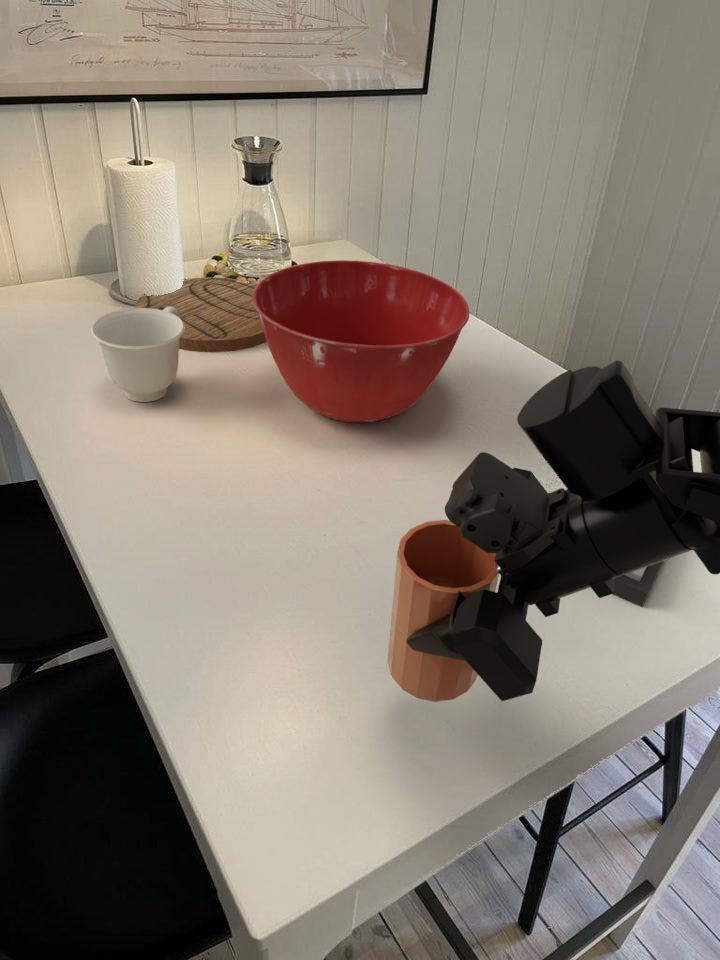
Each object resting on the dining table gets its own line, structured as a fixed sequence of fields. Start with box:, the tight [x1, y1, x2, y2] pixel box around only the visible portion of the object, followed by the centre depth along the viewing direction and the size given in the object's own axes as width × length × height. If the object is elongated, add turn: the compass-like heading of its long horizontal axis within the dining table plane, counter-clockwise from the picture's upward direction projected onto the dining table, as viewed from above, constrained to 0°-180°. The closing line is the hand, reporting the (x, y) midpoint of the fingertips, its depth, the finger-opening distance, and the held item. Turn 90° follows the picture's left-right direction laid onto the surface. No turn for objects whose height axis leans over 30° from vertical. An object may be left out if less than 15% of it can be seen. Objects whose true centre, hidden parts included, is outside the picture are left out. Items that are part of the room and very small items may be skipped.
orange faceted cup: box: [387, 519, 500, 703], centre depth 58 cm, size 7×7×13 cm
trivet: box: [134, 276, 267, 353], centre depth 126 cm, size 25×25×2 cm
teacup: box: [90, 307, 185, 403], centre depth 104 cm, size 12×15×10 cm
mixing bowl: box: [253, 259, 470, 424], centre depth 104 cm, size 28×28×15 cm
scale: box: [577, 495, 664, 608], centre depth 84 cm, size 12×12×3 cm
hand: (422, 607), depth 58 cm, fingers closed on orange faceted cup, 7 cm apart
